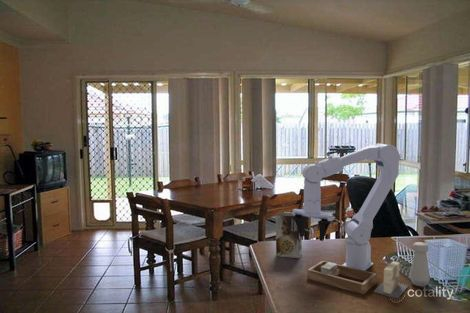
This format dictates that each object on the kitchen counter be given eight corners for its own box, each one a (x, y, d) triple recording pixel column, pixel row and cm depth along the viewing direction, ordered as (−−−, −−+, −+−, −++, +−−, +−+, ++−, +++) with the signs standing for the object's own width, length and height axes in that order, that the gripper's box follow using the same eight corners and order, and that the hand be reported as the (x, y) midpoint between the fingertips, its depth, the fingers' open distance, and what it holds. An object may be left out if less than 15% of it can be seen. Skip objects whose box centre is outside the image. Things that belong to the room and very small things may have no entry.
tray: (322, 268, 135) (322, 260, 135) (376, 282, 123) (376, 273, 123) (307, 278, 127) (307, 269, 126) (363, 294, 115) (363, 284, 115)
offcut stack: (329, 272, 132) (329, 260, 132) (339, 275, 130) (339, 263, 130) (319, 279, 127) (319, 267, 127) (329, 281, 125) (330, 269, 124)
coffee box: (302, 253, 151) (302, 212, 150) (299, 258, 145) (299, 216, 144) (278, 250, 154) (278, 210, 152) (275, 256, 148) (275, 214, 146)
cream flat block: (392, 283, 122) (392, 261, 121) (398, 284, 121) (399, 262, 120) (383, 291, 116) (383, 269, 115) (390, 293, 114) (390, 270, 114)
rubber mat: (384, 281, 124) (385, 280, 124) (408, 287, 120) (408, 285, 120) (373, 292, 116) (373, 290, 116) (397, 298, 112) (397, 297, 112)
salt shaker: (420, 289, 118) (421, 247, 117) (404, 282, 123) (406, 242, 122) (433, 285, 121) (435, 244, 119) (418, 278, 126) (419, 239, 124)
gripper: (287, 198, 136) (287, 237, 137) (326, 204, 127) (325, 245, 128) (298, 195, 141) (298, 232, 143) (335, 200, 132) (335, 239, 133)
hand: (312, 238), depth 136 cm, fingers open, 7 cm apart
